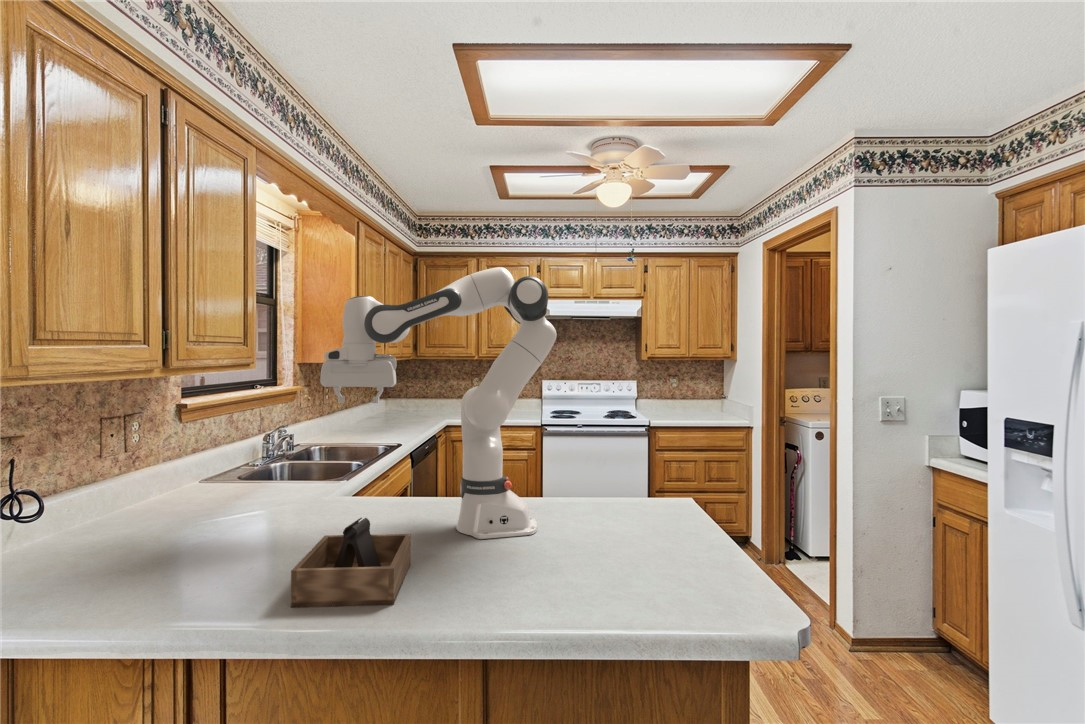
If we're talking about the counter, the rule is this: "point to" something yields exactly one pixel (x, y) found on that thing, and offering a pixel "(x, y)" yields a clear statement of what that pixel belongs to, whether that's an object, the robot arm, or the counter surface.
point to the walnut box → (350, 574)
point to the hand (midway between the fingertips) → (358, 403)
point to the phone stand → (358, 546)
